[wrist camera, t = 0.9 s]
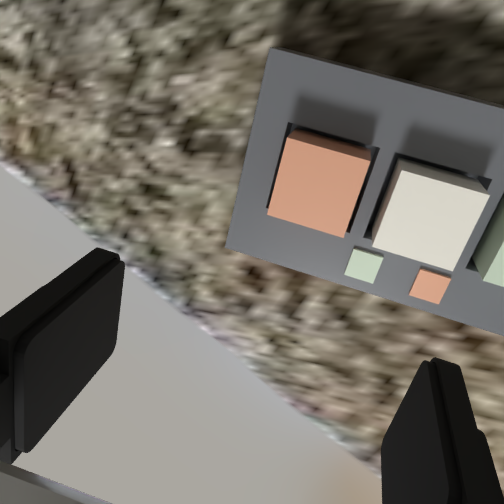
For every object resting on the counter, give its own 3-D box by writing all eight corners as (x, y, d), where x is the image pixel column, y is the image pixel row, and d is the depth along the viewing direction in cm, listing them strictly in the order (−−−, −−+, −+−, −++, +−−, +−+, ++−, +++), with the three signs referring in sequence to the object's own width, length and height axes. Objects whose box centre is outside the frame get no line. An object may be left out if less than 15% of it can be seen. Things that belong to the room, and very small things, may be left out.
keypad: (653, 144, 25) (696, 159, 22) (541, 322, 30) (562, 356, 27) (281, 47, 27) (268, 47, 24) (238, 228, 33) (223, 248, 29)
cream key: (477, 179, 25) (490, 195, 23) (444, 249, 27) (452, 271, 25) (398, 157, 26) (401, 170, 23) (371, 227, 28) (372, 246, 25)
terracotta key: (370, 149, 26) (370, 161, 23) (346, 219, 28) (343, 237, 25) (295, 128, 26) (287, 137, 24) (276, 198, 28) (266, 214, 26)
